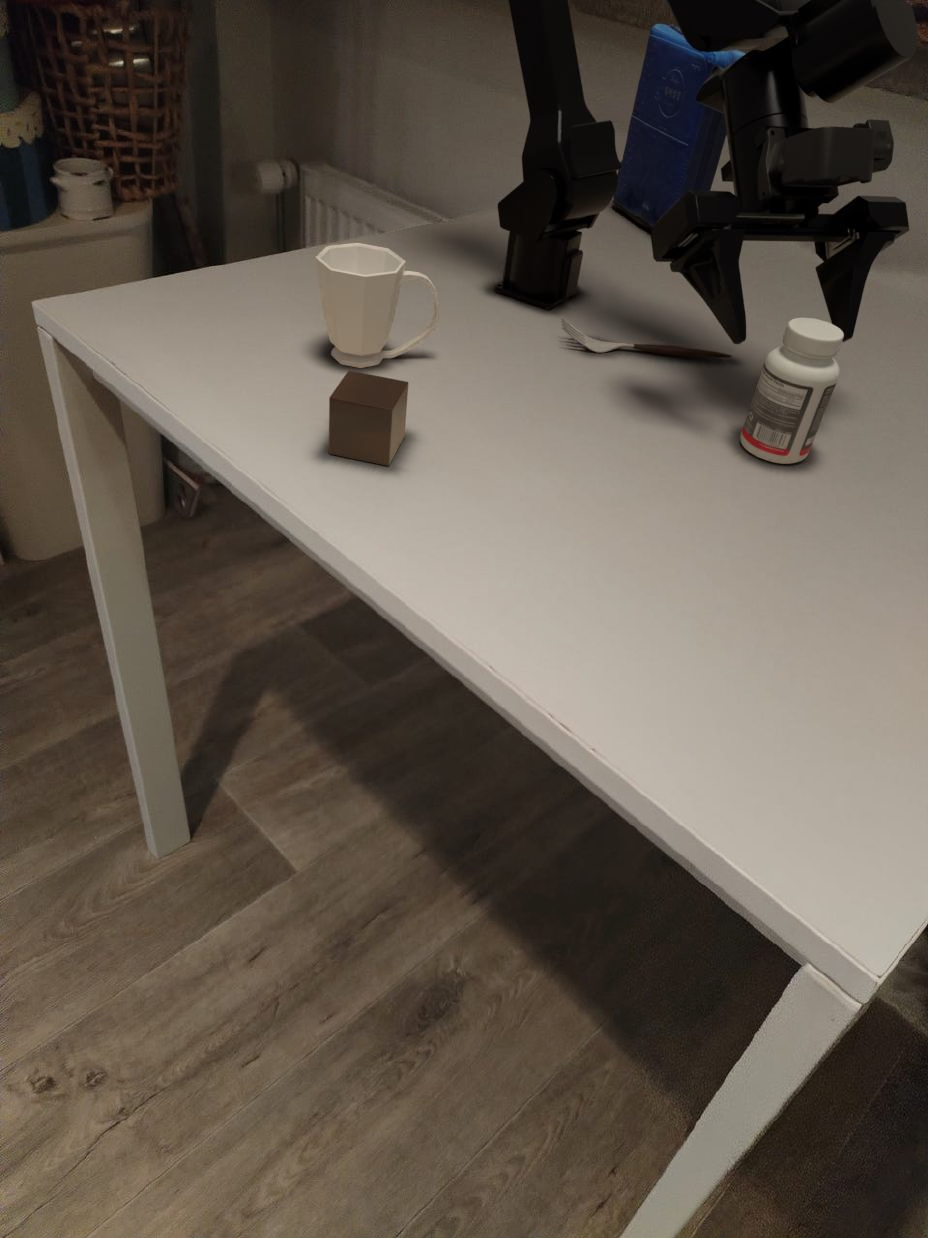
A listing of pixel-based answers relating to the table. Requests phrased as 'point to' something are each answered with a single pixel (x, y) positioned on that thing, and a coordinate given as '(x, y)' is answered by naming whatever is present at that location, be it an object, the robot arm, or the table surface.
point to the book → (670, 128)
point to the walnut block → (367, 417)
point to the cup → (364, 301)
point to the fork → (636, 345)
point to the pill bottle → (793, 392)
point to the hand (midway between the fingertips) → (794, 341)
